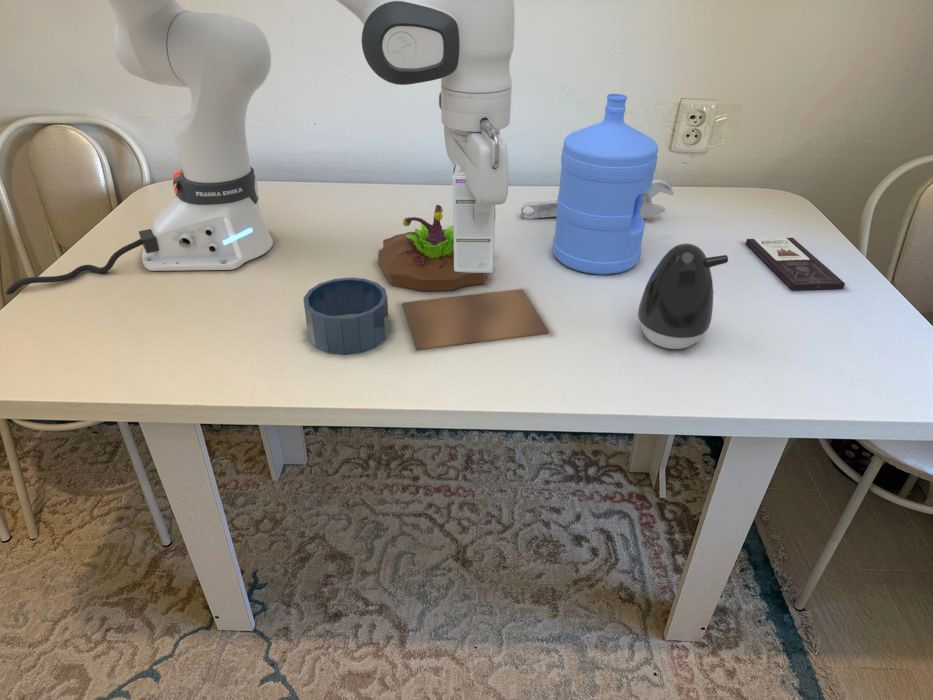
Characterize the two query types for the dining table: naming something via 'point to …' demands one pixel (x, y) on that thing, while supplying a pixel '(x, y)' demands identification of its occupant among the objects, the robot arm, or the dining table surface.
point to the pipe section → (347, 330)
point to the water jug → (603, 193)
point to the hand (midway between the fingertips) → (473, 211)
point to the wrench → (647, 210)
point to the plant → (424, 258)
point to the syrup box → (470, 230)
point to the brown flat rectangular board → (472, 319)
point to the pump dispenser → (679, 298)
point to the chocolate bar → (794, 264)
